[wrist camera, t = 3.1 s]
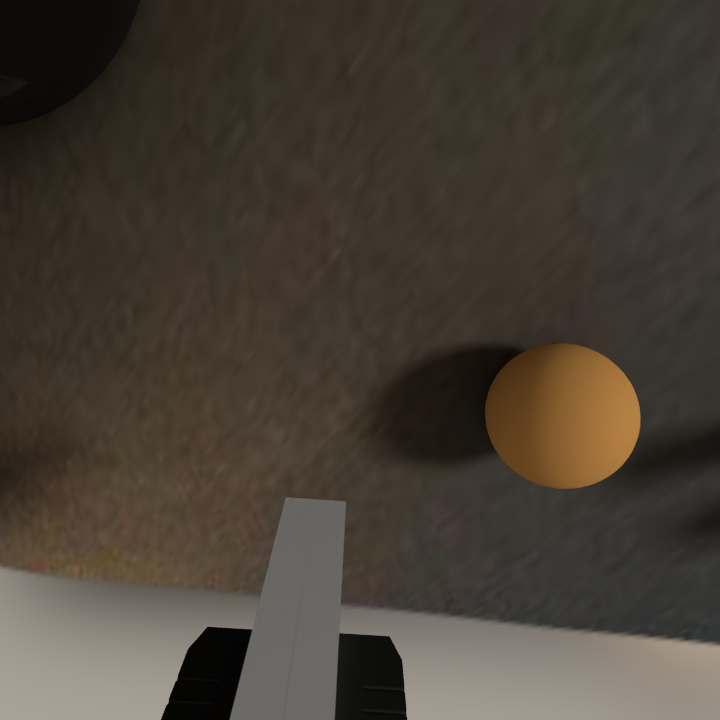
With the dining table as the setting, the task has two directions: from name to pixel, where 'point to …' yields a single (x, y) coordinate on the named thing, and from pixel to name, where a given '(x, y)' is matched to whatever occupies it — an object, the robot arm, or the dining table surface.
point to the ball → (562, 416)
